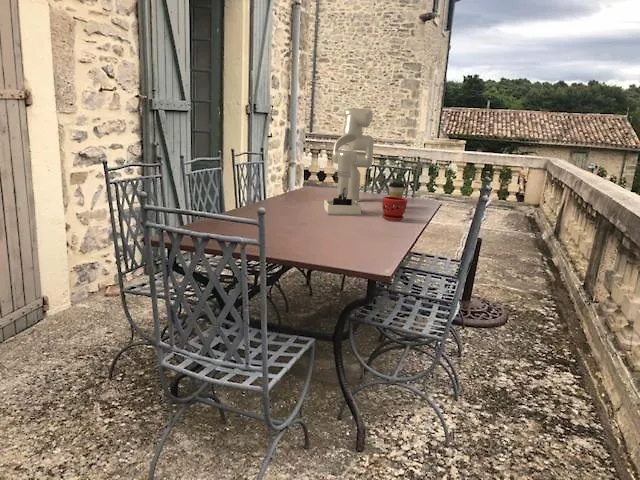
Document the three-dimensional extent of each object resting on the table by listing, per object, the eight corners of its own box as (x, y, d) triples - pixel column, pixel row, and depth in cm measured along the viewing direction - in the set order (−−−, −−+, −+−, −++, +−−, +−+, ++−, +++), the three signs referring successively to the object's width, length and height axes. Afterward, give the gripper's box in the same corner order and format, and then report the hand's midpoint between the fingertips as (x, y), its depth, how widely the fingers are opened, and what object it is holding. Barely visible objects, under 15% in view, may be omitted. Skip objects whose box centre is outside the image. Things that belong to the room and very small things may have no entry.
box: (324, 209, 284) (324, 199, 283) (355, 210, 287) (355, 200, 285) (327, 214, 268) (328, 205, 267) (360, 215, 271) (361, 206, 269)
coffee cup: (403, 209, 297) (406, 184, 294) (387, 208, 298) (389, 184, 294) (401, 206, 307) (403, 182, 303) (386, 205, 307) (388, 181, 303)
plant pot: (404, 222, 258) (406, 200, 255) (380, 220, 260) (381, 198, 257) (405, 218, 270) (407, 197, 267) (382, 216, 273) (383, 195, 270)
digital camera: (351, 210, 279) (352, 198, 278) (350, 212, 274) (351, 200, 272) (333, 209, 281) (334, 197, 279) (332, 210, 276) (333, 198, 274)
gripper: (335, 172, 280) (333, 201, 285) (339, 176, 264) (338, 207, 268) (348, 172, 281) (346, 201, 285) (353, 176, 264) (351, 207, 269)
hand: (342, 204), depth 277 cm, fingers open, 9 cm apart
